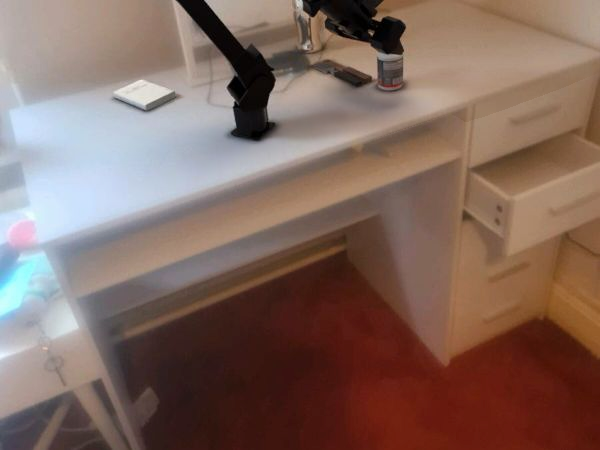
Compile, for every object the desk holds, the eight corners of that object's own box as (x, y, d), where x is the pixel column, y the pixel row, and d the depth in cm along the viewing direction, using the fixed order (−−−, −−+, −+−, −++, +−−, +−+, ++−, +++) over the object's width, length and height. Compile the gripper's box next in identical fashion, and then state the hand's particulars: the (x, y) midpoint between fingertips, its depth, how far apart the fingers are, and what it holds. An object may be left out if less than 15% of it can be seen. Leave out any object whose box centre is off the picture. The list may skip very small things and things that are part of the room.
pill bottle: (376, 81, 129) (375, 36, 123) (401, 79, 129) (402, 34, 123) (378, 92, 125) (377, 46, 119) (404, 90, 125) (404, 44, 119)
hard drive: (146, 112, 128) (114, 98, 136) (176, 97, 133) (143, 84, 140) (144, 105, 127) (112, 91, 135) (175, 90, 132) (142, 78, 139)
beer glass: (321, 53, 144) (316, -11, 135) (293, 54, 146) (286, -10, 137) (326, 42, 150) (321, -20, 141) (298, 43, 151) (292, -19, 142)
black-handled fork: (364, 83, 129) (364, 80, 128) (354, 87, 128) (354, 83, 127) (320, 63, 140) (320, 59, 139) (311, 66, 139) (310, 63, 138)
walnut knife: (372, 80, 130) (372, 76, 129) (365, 83, 129) (364, 79, 128) (327, 60, 141) (327, 56, 140) (320, 62, 140) (320, 58, 140)
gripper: (398, -25, 103) (442, 21, 114) (332, -42, 115) (377, 1, 127) (364, 33, 104) (410, 73, 115) (302, 10, 117) (350, 48, 128)
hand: (386, 46), depth 121 cm, fingers open, 9 cm apart
